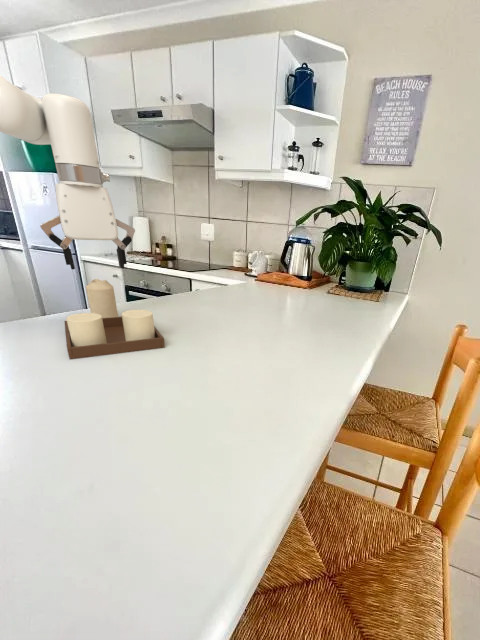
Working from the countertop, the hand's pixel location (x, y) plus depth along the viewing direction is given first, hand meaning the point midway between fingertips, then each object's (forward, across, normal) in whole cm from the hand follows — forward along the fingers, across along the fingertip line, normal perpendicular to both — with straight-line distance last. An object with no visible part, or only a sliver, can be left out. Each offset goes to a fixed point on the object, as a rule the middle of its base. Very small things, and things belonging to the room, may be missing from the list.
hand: (98, 268), depth 72 cm
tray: (+13, 0, +14) cm, 19 cm away
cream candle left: (+12, +5, +18) cm, 22 cm away
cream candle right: (+12, -4, +18) cm, 22 cm away
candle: (+13, +1, 0) cm, 13 cm away
